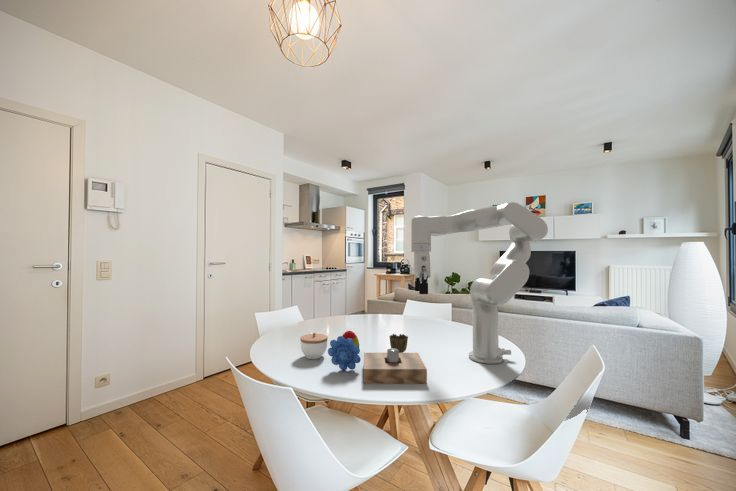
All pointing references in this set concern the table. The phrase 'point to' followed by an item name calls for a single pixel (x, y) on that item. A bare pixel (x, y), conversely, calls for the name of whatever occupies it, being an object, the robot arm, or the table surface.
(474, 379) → the table surface
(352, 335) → the decorative egg
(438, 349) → the table surface
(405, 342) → the cup
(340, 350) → the grapes
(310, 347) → the lidded jar
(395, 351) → the steel peg
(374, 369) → the walnut block
